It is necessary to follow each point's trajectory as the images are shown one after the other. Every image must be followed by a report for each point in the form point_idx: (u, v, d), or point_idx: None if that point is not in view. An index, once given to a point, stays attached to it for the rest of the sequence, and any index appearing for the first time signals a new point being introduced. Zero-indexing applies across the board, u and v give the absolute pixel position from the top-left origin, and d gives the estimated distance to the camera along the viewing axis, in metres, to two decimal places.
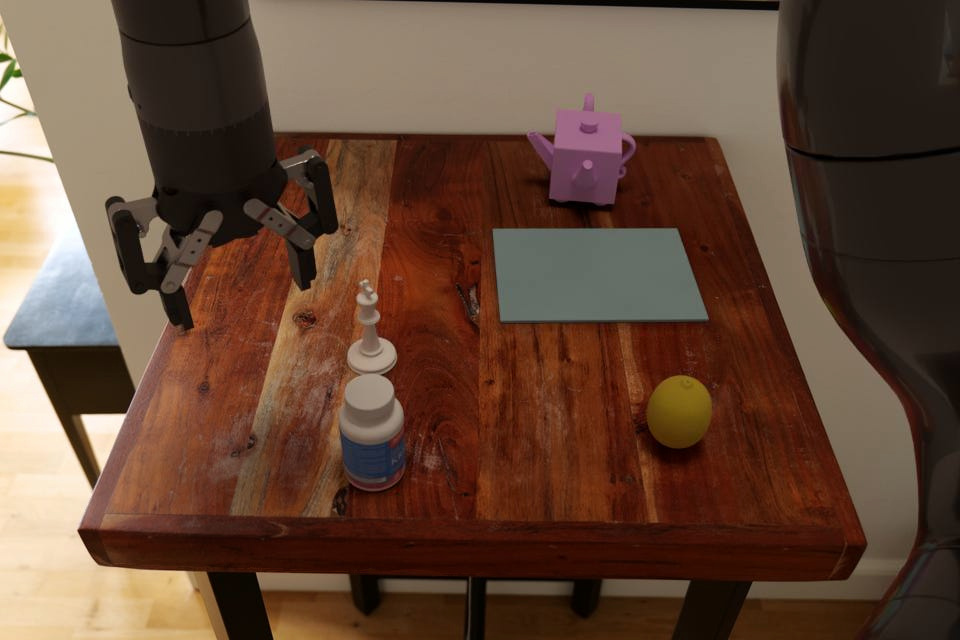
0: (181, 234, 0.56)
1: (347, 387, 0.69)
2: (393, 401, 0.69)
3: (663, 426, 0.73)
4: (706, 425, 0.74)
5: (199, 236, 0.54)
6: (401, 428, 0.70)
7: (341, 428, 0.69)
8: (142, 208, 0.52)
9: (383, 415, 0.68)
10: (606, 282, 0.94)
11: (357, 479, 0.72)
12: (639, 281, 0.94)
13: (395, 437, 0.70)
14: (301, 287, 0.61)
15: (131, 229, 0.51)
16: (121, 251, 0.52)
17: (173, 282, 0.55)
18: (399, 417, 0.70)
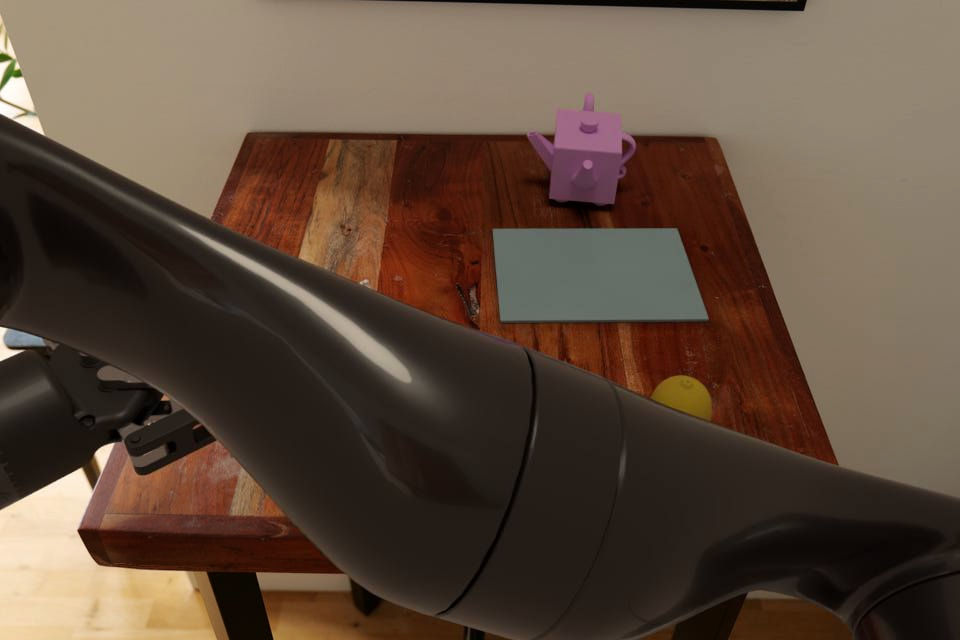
0: None
1: None
2: None
3: None
4: None
5: (135, 376, 0.49)
6: None
7: None
8: (123, 437, 0.48)
9: None
10: (606, 282, 0.94)
11: None
12: (639, 281, 0.94)
13: None
14: None
15: (141, 432, 0.47)
16: (172, 431, 0.47)
17: None
18: None
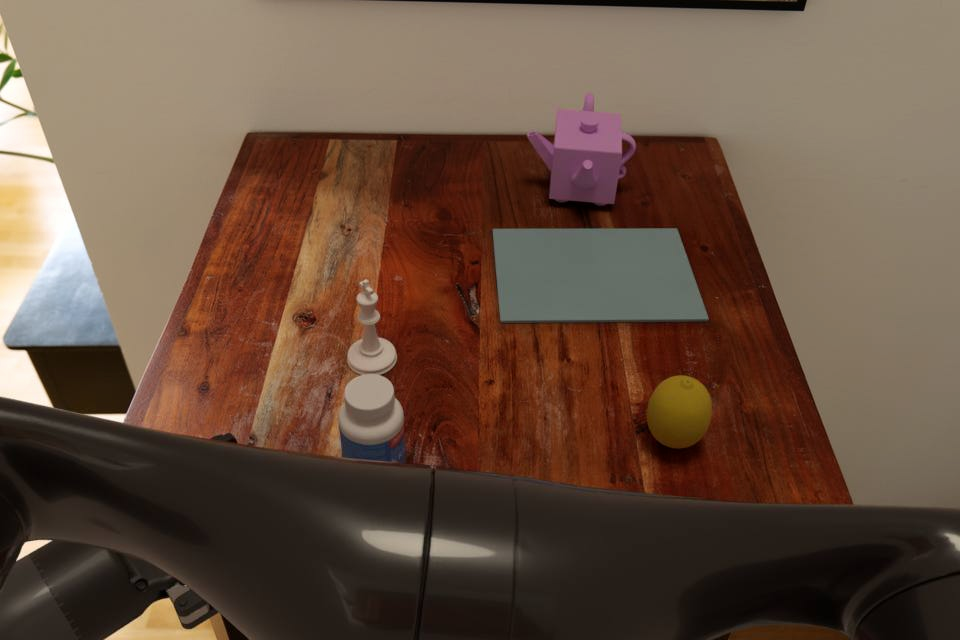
0: None
1: (347, 387, 0.69)
2: (393, 401, 0.69)
3: (663, 426, 0.73)
4: (706, 425, 0.74)
5: None
6: (401, 428, 0.70)
7: (341, 428, 0.69)
8: (172, 598, 0.57)
9: (383, 415, 0.68)
10: (606, 282, 0.94)
11: None
12: (639, 281, 0.94)
13: (395, 437, 0.70)
14: (230, 440, 0.66)
15: (187, 596, 0.56)
16: None
17: None
18: (399, 417, 0.70)
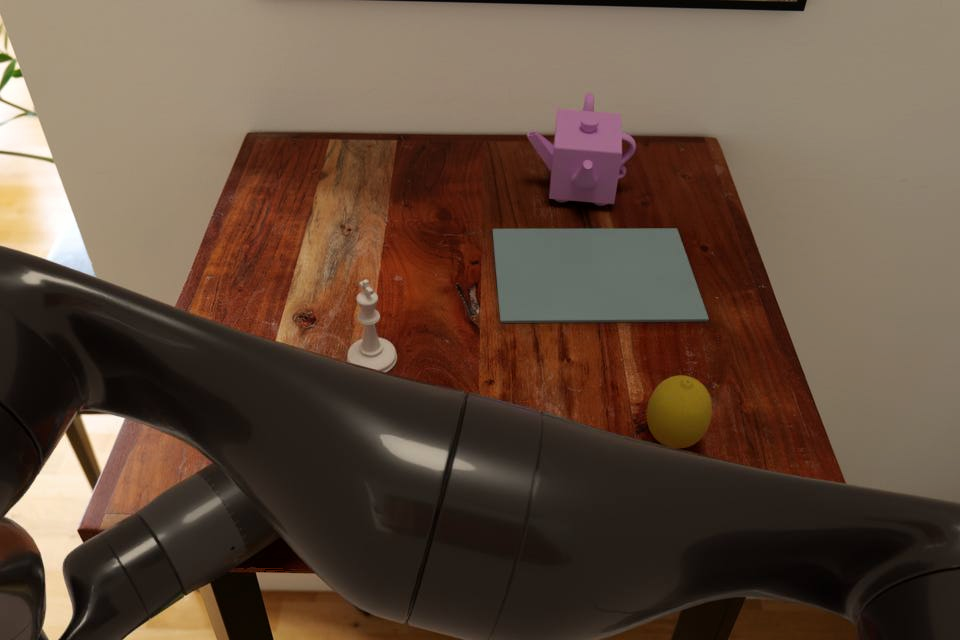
0: None
1: None
2: None
3: (663, 426, 0.73)
4: (706, 425, 0.74)
5: None
6: None
7: None
8: None
9: None
10: (606, 282, 0.94)
11: None
12: (639, 281, 0.94)
13: None
14: None
15: None
16: None
17: None
18: None
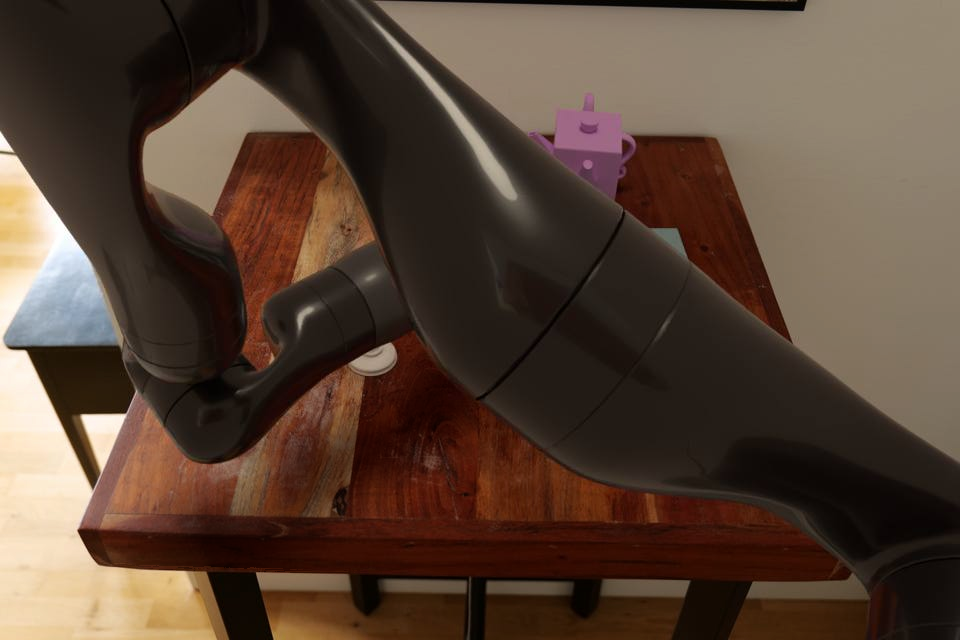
0: None
1: None
2: None
3: None
4: None
5: None
6: None
7: None
8: None
9: None
10: None
11: None
12: None
13: None
14: None
15: None
16: None
17: None
18: None
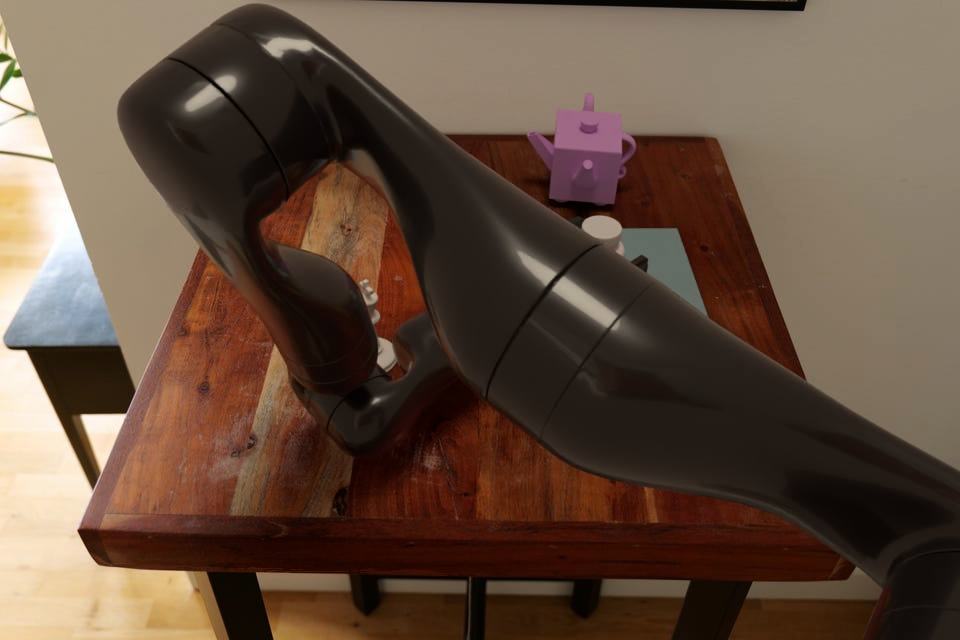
0: None
1: (584, 224, 0.85)
2: None
3: None
4: None
5: None
6: None
7: None
8: None
9: (614, 245, 0.85)
10: None
11: None
12: None
13: None
14: (582, 220, 0.89)
15: None
16: None
17: None
18: (623, 250, 0.86)
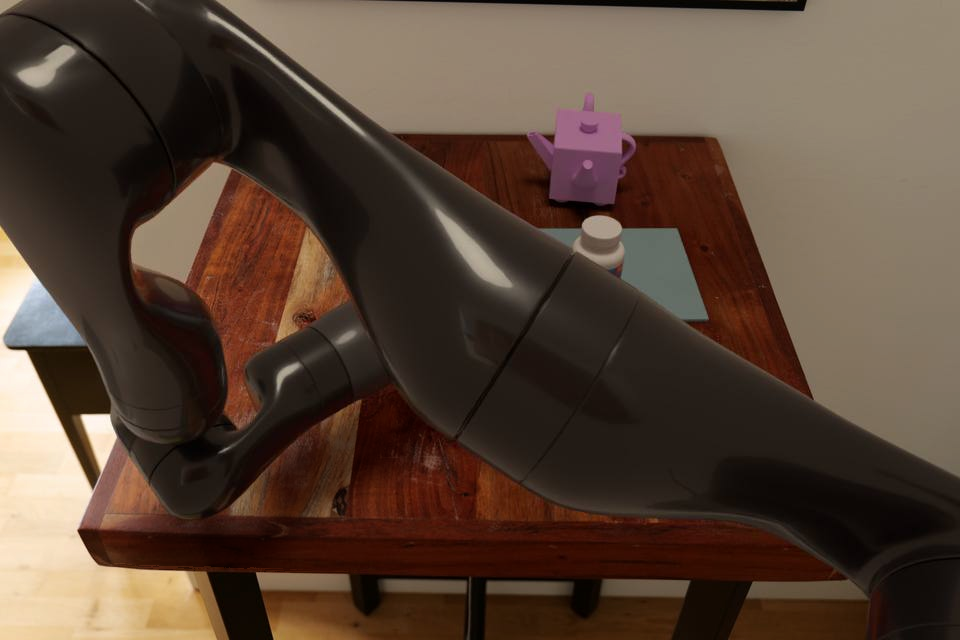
0: None
1: (584, 224, 0.85)
2: None
3: None
4: None
5: None
6: (623, 260, 0.87)
7: None
8: None
9: (614, 245, 0.85)
10: None
11: None
12: (639, 281, 0.94)
13: (620, 266, 0.86)
14: None
15: None
16: None
17: None
18: (623, 250, 0.86)
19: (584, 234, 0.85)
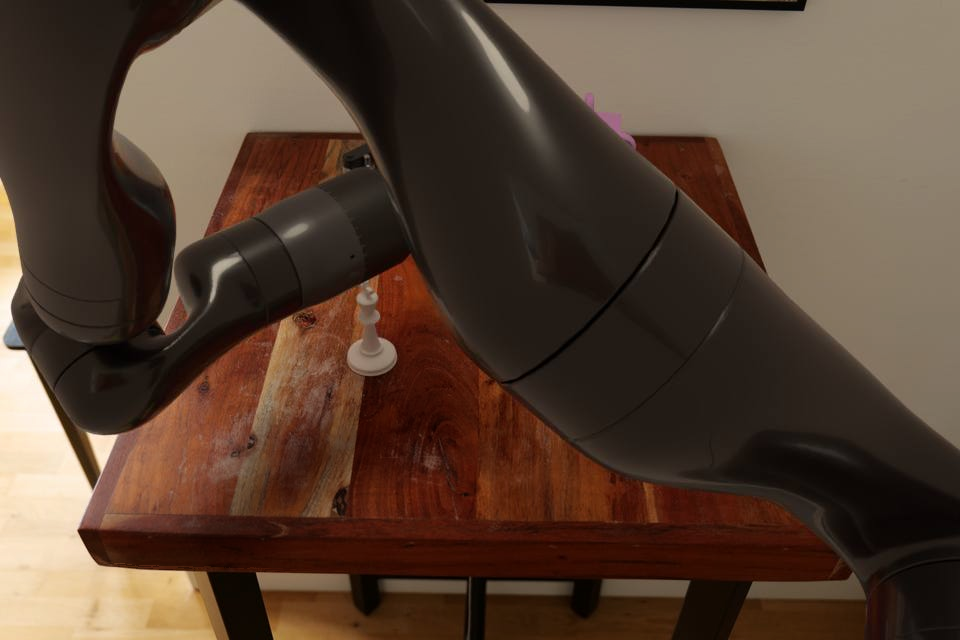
0: None
1: None
2: None
3: None
4: None
5: None
6: None
7: None
8: None
9: None
10: None
11: None
12: None
13: None
14: None
15: None
16: None
17: None
18: None
19: None
